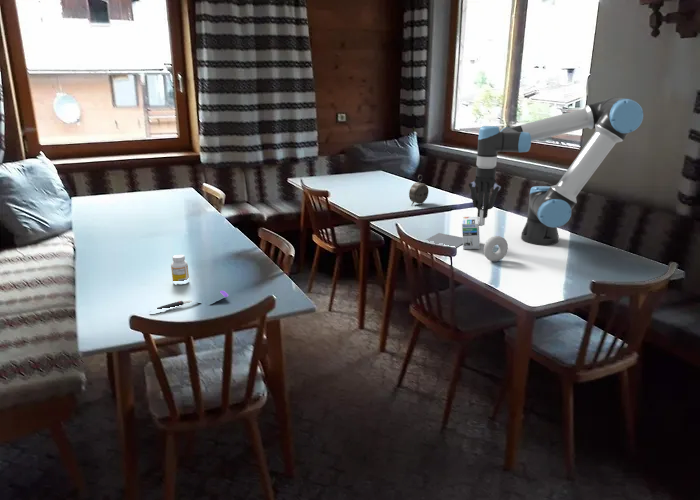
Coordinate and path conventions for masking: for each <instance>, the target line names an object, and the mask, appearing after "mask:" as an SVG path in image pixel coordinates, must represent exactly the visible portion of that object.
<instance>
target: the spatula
mask: <svg viewBox="0 0 700 500" xmlns="http://www.w3.org/2000/svg"><path fill="white" fill-rule="evenodd" d="M219 291H220V293H221V294H222V295H223V296H224V297H227V298H228V297H229V293H227V292H226V291H225V290H219ZM192 301H193V300H184V301H183V300H178V301H175V302H172V303H168V304H165V305H161V306H158V307H156V308H157V309H162V308H170V307H175V306H179V305H181V306H183V305H184V304H185V305H186V304H189V303H190V302H192ZM179 307H180V306H179Z"/></svg>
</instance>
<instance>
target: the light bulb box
mask: <svg viewBox="0 0 700 500" xmlns="http://www.w3.org/2000/svg"><path fill="white" fill-rule="evenodd" d="M461 229H462V230H461V231H462V237H463V244H462V249H463V250H479V249H480V246H481V245H480V226H479V217H478V216H477V215H475V216H462V219H461Z"/></svg>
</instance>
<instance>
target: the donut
mask: <svg viewBox="0 0 700 500" xmlns="http://www.w3.org/2000/svg"><path fill="white" fill-rule="evenodd" d="M497 245H498V249H497V250H496V252H494V251H493V250H494V247H495V246H497ZM508 250H509V245H508V242H507V240H506V239H505V238H504V237H503V236H500V235H494V236H491V237H489V238H488V239H487V240H486V242H485V244H484V245H483V255H484V257H485V259H487V261H491V262H498V261H501V260H502V259H504V257H505V256H506V255H507V253H508Z"/></svg>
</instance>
